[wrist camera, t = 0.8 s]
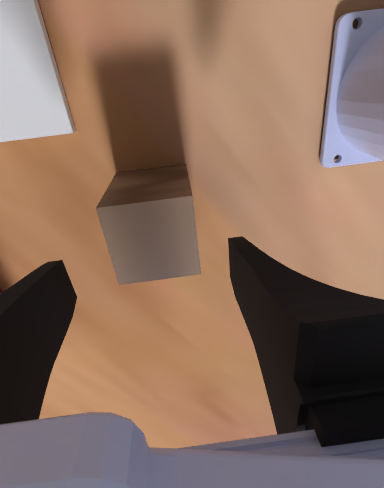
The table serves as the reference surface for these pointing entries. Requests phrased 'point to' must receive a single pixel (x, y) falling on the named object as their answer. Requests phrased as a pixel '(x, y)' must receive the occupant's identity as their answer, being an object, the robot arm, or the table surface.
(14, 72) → the pad
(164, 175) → the walnut block
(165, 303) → the table surface
